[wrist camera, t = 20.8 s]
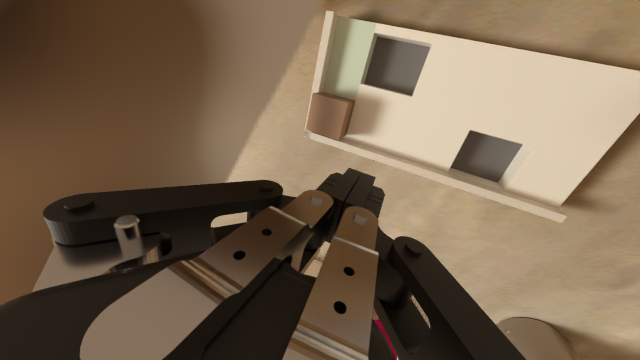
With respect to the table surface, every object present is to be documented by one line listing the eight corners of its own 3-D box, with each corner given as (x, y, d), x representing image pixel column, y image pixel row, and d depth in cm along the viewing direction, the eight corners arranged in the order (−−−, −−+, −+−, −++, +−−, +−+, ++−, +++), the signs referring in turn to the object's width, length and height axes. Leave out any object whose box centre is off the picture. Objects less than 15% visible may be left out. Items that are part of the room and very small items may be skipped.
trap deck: (642, 77, 23) (693, 76, 19) (541, 203, 31) (561, 223, 26) (338, 20, 32) (326, 10, 27) (315, 130, 39) (303, 136, 35)
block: (355, 100, 32) (348, 102, 28) (346, 134, 34) (338, 140, 31) (323, 91, 33) (312, 92, 30) (316, 125, 35) (305, 129, 32)
